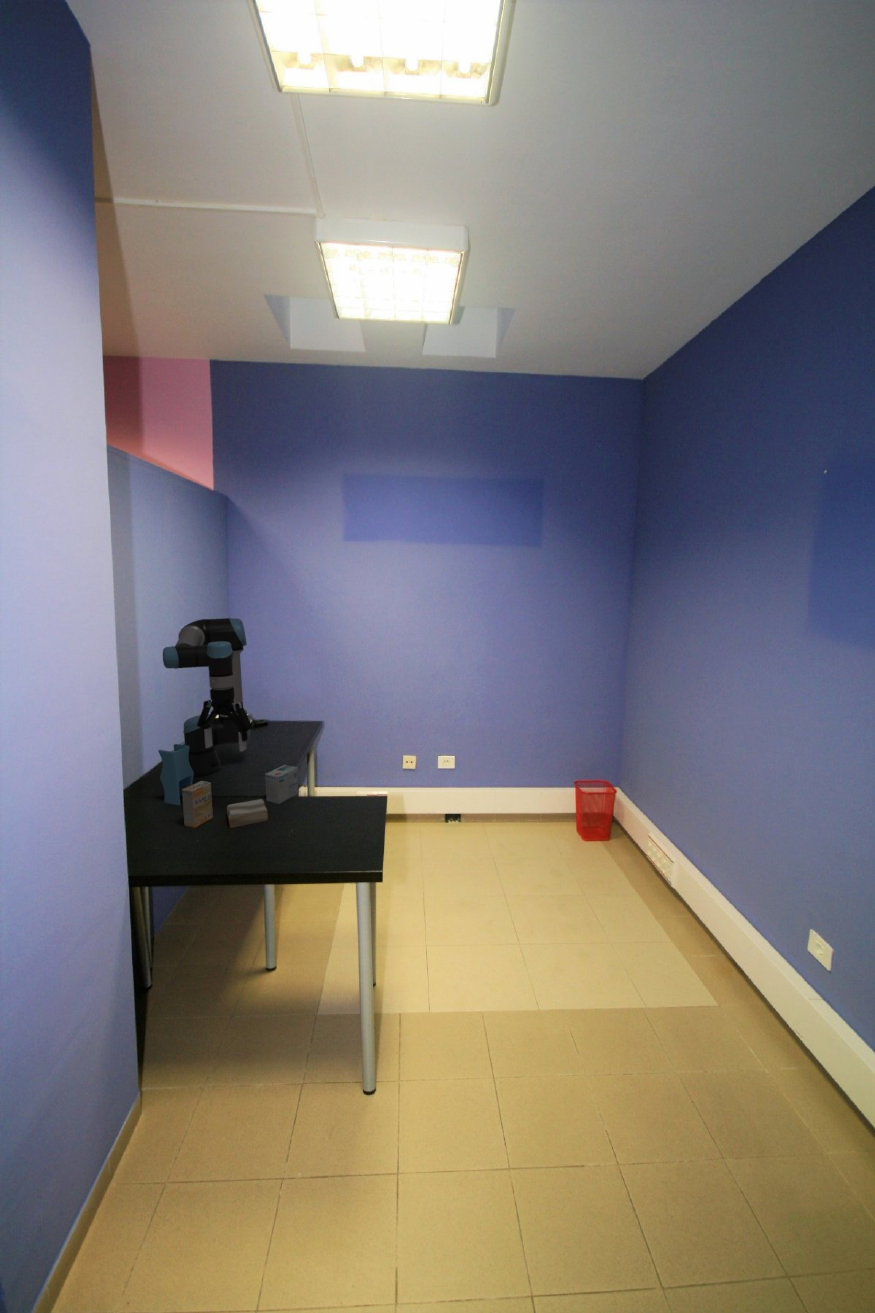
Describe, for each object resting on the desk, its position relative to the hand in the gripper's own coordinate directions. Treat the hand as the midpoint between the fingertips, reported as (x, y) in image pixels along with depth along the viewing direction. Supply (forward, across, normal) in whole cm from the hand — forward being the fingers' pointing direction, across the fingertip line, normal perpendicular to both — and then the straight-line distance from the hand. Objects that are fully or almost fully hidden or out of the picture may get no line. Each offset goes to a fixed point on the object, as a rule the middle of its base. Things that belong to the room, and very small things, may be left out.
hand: (225, 748), depth 178 cm
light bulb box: (+24, +10, +18) cm, 32 cm away
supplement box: (+24, -7, -8) cm, 26 cm away
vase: (+24, -26, +6) cm, 36 cm away
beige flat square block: (+24, +7, 0) cm, 25 cm away
